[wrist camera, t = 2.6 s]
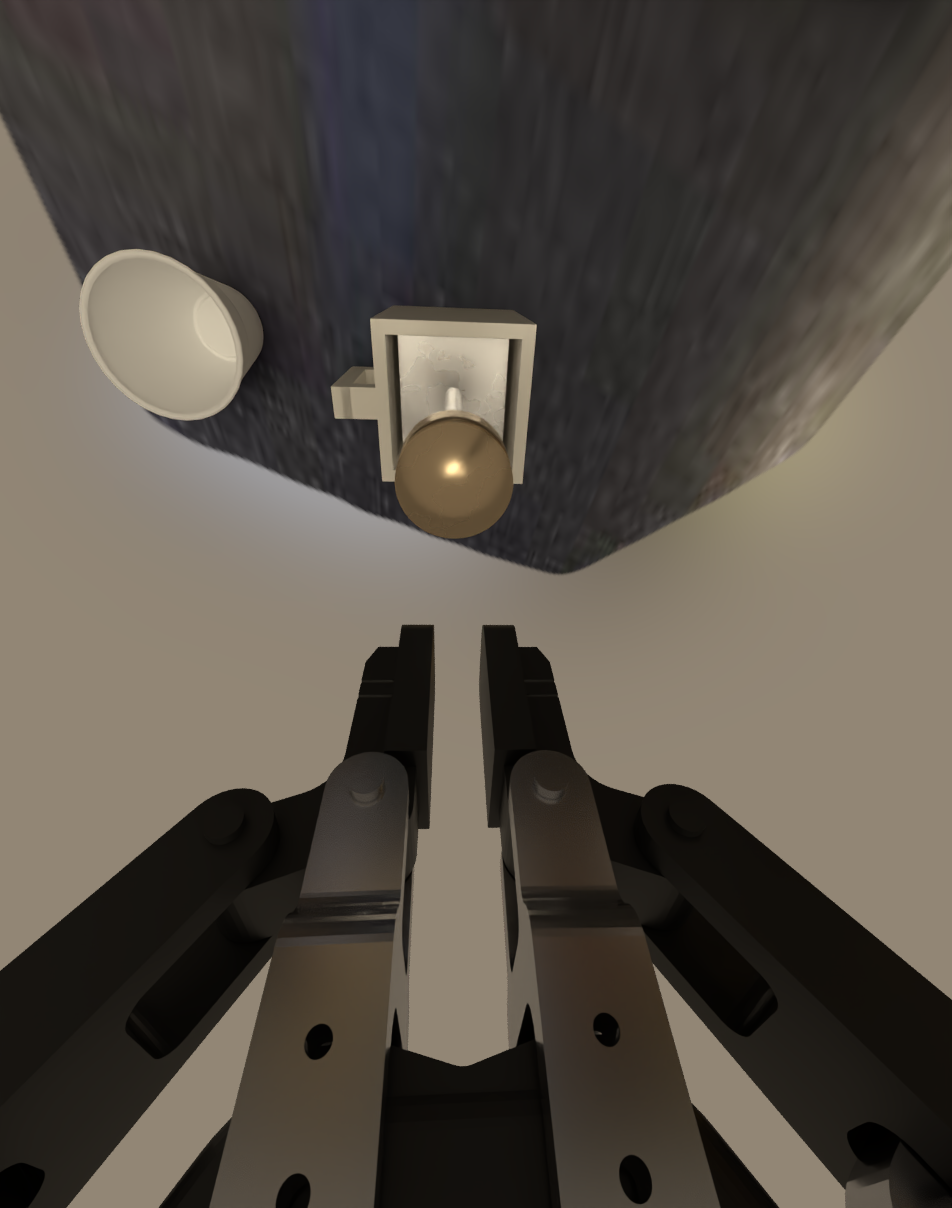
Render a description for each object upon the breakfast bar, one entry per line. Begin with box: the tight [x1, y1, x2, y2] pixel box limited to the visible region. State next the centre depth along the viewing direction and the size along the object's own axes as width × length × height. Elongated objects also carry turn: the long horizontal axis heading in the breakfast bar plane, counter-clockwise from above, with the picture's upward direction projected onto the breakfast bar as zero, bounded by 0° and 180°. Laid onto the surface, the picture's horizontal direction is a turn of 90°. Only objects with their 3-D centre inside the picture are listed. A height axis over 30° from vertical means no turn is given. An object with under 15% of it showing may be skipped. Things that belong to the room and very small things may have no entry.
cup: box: [79, 249, 264, 420], centre depth 36 cm, size 10×10×11 cm
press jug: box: [331, 305, 537, 484], centre depth 38 cm, size 13×10×14 cm
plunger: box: [395, 335, 513, 539], centre depth 28 cm, size 8×8×19 cm
